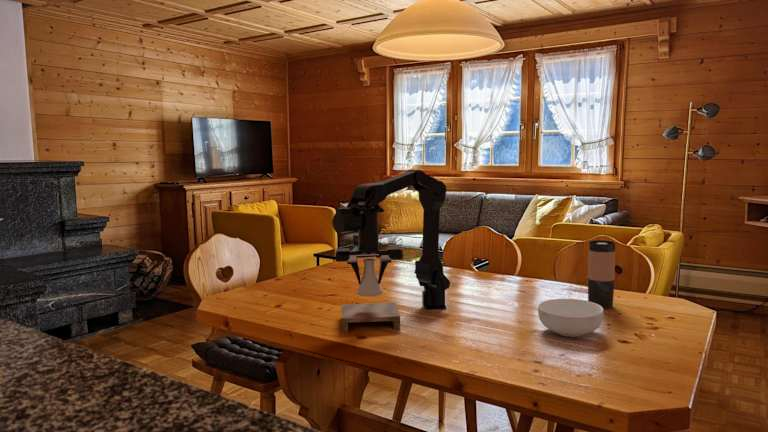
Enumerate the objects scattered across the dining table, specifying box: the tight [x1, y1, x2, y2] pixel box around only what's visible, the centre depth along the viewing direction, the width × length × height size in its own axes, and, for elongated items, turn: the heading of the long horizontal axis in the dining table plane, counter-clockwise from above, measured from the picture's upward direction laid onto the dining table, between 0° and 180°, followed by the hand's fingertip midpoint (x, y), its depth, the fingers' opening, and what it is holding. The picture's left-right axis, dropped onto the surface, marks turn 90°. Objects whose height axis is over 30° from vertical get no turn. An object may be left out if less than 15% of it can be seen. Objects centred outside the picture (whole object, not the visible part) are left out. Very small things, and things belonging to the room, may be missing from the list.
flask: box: [356, 258, 384, 297], centre depth 162 cm, size 7×7×10 cm
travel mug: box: [587, 239, 616, 310], centre depth 176 cm, size 8×8×20 cm
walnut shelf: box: [341, 302, 401, 334], centre depth 163 cm, size 16×14×4 cm
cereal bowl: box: [537, 298, 605, 338], centre depth 153 cm, size 17×17×7 cm
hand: (369, 283), depth 162 cm, fingers closed on flask, 5 cm apart
